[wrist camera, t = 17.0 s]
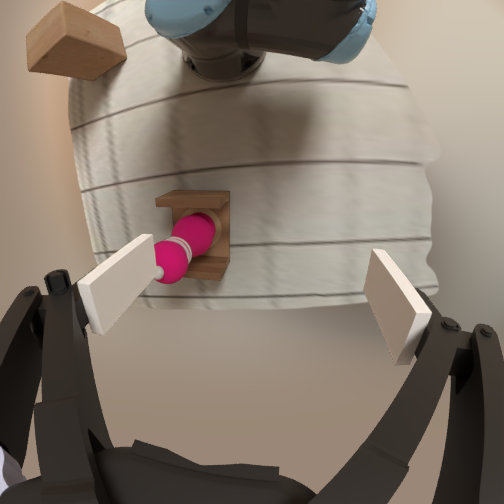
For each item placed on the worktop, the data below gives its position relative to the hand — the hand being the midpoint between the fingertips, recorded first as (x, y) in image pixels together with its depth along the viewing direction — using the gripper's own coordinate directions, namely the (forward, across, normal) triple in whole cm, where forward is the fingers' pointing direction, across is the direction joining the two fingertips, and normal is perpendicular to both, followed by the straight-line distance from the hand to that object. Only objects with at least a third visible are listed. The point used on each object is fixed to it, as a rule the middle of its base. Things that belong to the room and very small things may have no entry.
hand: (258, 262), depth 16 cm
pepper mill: (+34, -14, -9) cm, 37 cm away
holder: (+35, -14, -9) cm, 38 cm away
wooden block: (+35, -37, +30) cm, 59 cm away
